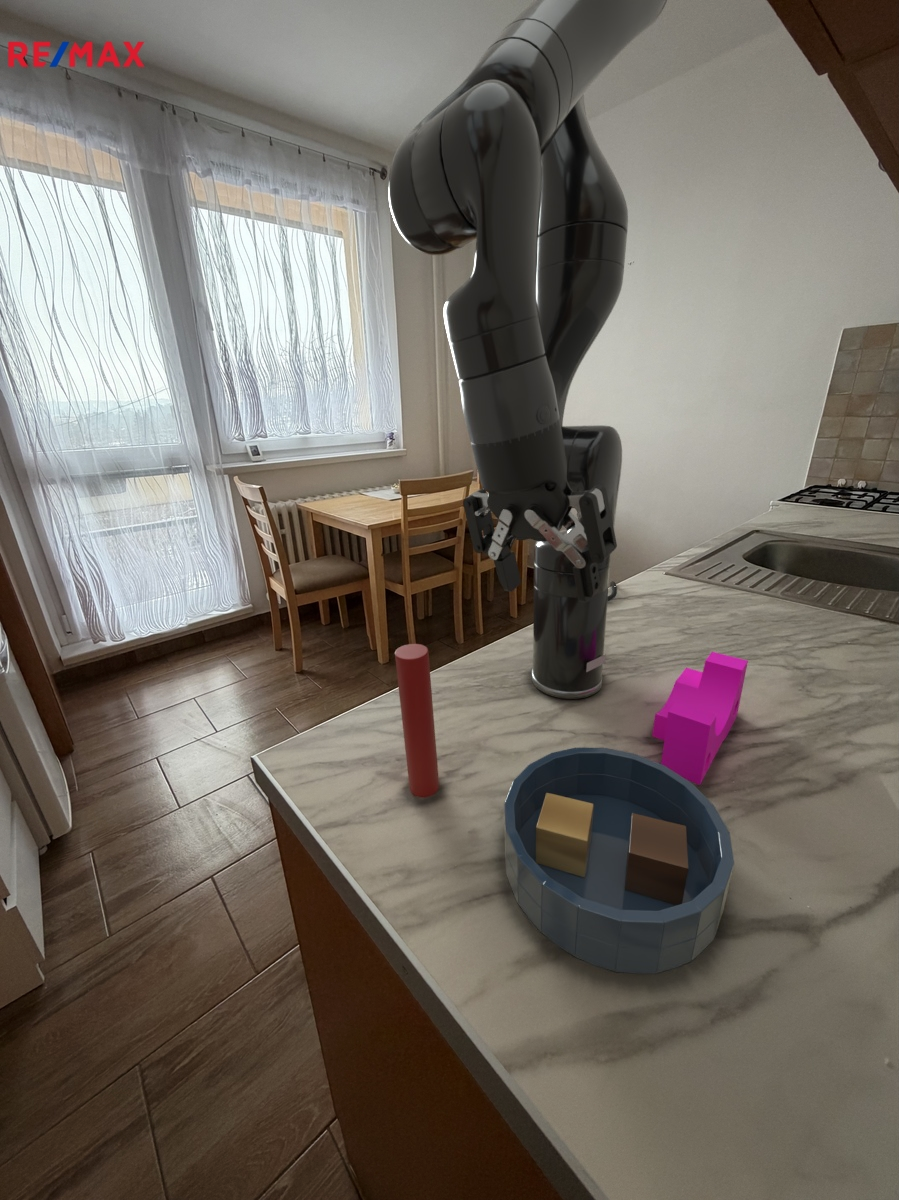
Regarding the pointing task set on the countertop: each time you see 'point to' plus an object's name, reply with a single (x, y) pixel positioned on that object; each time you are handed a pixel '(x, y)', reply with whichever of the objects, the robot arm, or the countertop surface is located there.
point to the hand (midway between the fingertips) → (548, 592)
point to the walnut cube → (657, 859)
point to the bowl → (617, 861)
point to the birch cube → (564, 834)
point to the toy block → (700, 715)
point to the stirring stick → (417, 718)
